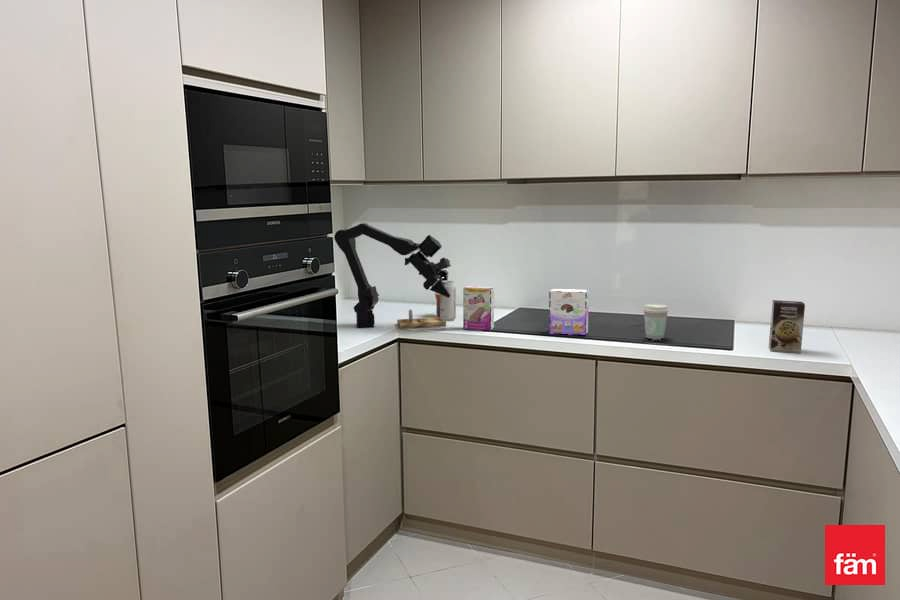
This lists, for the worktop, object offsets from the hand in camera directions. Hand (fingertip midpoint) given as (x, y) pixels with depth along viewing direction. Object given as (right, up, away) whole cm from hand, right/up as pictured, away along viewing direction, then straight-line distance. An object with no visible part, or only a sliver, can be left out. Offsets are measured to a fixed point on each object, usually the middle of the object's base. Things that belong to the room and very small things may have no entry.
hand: (451, 295), depth 251 cm
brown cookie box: (+109, -18, -35) cm, 116 cm away
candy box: (+43, -14, -7) cm, 46 cm away
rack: (-12, -12, +11) cm, 20 cm away
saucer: (-16, -12, +10) cm, 22 cm away
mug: (-2, -9, +26) cm, 28 cm away
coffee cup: (+72, -16, -17) cm, 76 cm away
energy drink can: (-1, -10, +2) cm, 10 cm away
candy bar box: (+11, -13, +2) cm, 17 cm away
